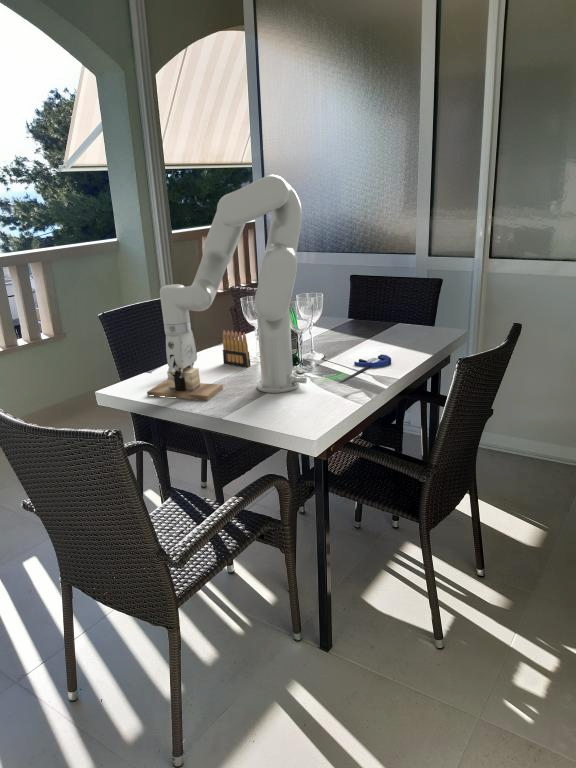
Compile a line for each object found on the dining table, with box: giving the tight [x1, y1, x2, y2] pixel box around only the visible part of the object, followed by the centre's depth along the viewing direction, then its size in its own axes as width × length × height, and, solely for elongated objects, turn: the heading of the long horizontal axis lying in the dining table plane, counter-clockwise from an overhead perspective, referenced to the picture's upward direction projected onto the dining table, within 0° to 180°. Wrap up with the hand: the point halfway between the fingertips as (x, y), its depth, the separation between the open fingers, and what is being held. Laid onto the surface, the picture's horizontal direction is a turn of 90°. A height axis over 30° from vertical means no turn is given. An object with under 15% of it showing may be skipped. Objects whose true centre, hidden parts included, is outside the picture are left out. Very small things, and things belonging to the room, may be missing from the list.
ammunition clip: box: [222, 329, 252, 369], centre depth 204 cm, size 11×2×12 cm, turn 54°
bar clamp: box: [336, 354, 392, 385], centre depth 190 cm, size 32×2×10 cm
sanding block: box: [166, 367, 201, 391], centre depth 180 cm, size 8×4×6 cm, turn 71°
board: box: [146, 380, 224, 401], centre depth 182 cm, size 20×10×2 cm, turn 71°
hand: (185, 386), depth 181 cm, fingers closed on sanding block, 4 cm apart
